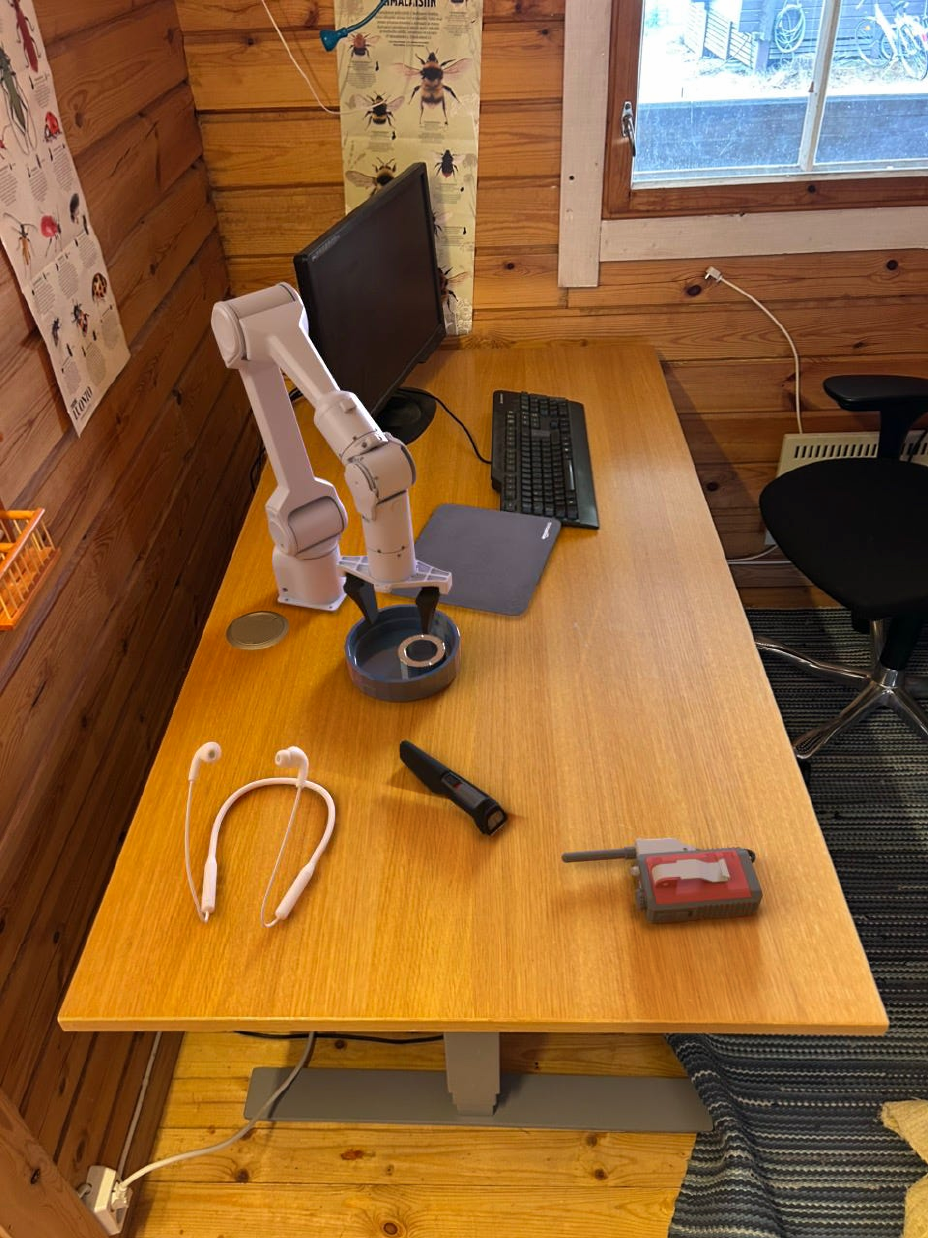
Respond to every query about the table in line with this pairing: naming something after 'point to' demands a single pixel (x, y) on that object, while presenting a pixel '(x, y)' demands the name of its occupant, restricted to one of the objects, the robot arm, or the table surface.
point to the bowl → (378, 656)
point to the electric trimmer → (454, 788)
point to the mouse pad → (486, 556)
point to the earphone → (284, 759)
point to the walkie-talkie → (686, 879)
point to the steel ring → (419, 646)
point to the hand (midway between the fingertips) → (400, 624)
